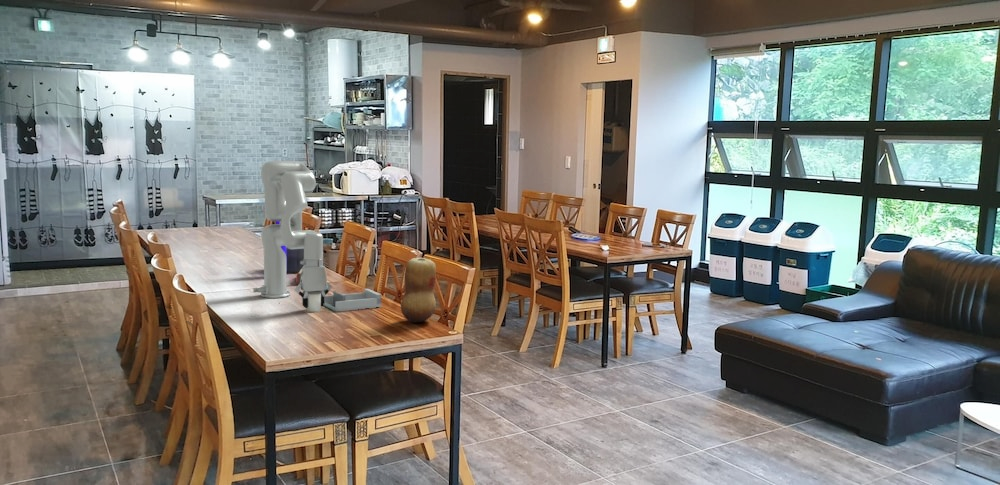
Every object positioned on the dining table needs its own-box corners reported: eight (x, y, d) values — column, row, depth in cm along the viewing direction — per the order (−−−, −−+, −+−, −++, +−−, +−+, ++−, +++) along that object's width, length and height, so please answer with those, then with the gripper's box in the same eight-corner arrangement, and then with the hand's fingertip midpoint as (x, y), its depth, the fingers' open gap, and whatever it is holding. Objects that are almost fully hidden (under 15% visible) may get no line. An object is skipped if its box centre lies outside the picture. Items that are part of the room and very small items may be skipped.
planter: (308, 274, 396) (308, 243, 393) (274, 273, 396) (274, 242, 394) (317, 268, 413) (317, 239, 411) (284, 267, 413) (284, 238, 411)
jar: (308, 312, 309) (308, 292, 308) (303, 309, 314) (303, 290, 313) (323, 310, 312) (323, 291, 311) (318, 307, 318) (318, 289, 317)
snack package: (309, 285, 366) (309, 271, 365) (295, 285, 365) (295, 271, 364) (315, 277, 387) (315, 264, 386) (301, 277, 386) (301, 264, 385)
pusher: (343, 309, 314) (343, 296, 314) (333, 304, 324) (333, 291, 323) (372, 306, 321) (372, 293, 321) (362, 301, 331) (362, 288, 330)
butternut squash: (426, 327, 290) (427, 262, 286) (394, 323, 294) (395, 259, 291) (441, 320, 303) (442, 257, 299) (411, 316, 307) (411, 254, 304)
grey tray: (335, 311, 311) (335, 298, 311) (323, 305, 323) (323, 292, 322) (381, 307, 322) (381, 294, 322) (368, 301, 334) (368, 288, 333)
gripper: (295, 265, 303) (295, 310, 305) (337, 263, 312) (337, 306, 315) (289, 263, 309) (289, 306, 312) (330, 260, 319) (330, 303, 321)
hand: (313, 306), depth 313 cm, fingers closed on jar, 6 cm apart
